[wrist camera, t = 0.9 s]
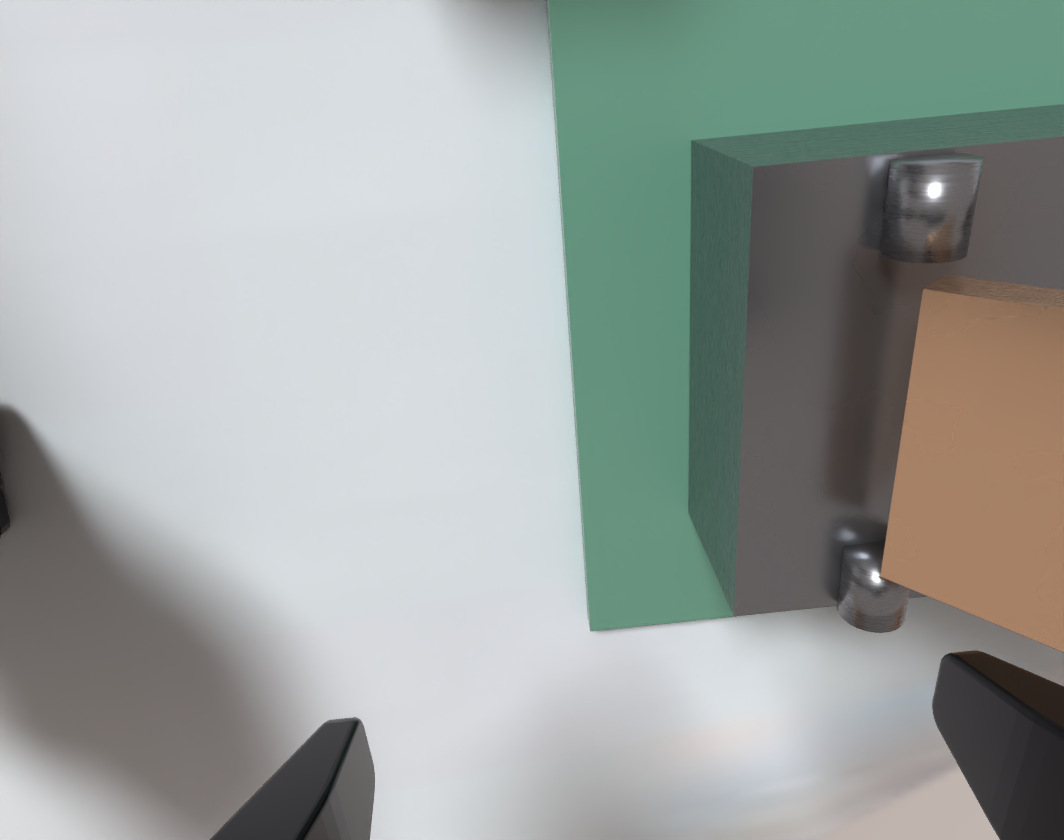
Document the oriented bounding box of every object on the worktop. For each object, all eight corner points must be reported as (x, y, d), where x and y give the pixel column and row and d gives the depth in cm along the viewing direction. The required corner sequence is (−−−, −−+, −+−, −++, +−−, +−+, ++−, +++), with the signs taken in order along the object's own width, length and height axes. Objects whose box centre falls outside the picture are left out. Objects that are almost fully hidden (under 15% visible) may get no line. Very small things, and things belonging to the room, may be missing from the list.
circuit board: (587, 618, 24) (590, 631, 23) (543, -53, 16) (545, -56, 15) (1214, 552, 24) (1230, 564, 23) (1482, -141, 16) (1517, -147, 15)
